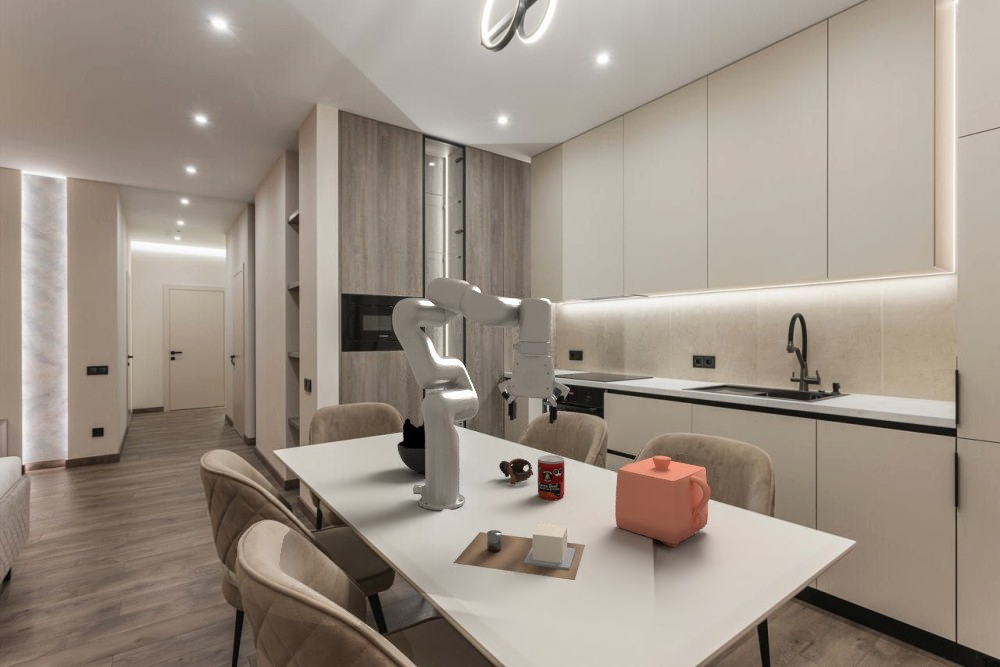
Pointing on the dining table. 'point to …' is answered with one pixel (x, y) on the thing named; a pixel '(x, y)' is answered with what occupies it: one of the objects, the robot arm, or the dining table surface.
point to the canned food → (551, 477)
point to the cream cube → (550, 543)
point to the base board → (514, 557)
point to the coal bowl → (413, 446)
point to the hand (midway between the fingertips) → (532, 421)
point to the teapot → (662, 499)
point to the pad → (564, 565)
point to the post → (494, 541)
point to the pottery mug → (516, 470)
